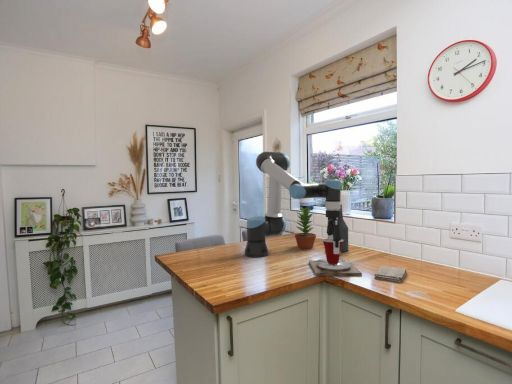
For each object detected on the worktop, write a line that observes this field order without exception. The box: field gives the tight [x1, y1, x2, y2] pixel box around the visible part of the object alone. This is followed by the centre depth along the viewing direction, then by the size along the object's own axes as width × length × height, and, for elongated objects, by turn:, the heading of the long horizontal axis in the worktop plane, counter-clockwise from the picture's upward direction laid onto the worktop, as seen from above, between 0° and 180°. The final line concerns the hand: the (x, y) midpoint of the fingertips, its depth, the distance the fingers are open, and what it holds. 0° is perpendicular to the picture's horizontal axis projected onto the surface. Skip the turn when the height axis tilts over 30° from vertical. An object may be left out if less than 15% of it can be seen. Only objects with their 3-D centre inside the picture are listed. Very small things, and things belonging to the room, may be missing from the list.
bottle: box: [333, 205, 349, 253], centre depth 189 cm, size 10×10×30 cm
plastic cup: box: [321, 238, 343, 264], centre depth 150 cm, size 11×11×12 cm
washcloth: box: [374, 265, 407, 283], centre depth 138 cm, size 12×18×3 cm, turn 147°
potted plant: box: [294, 204, 317, 250], centre depth 198 cm, size 15×15×30 cm
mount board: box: [308, 257, 363, 277], centre depth 149 cm, size 22×22×4 cm
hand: (333, 250), depth 149 cm, fingers open, 13 cm apart
